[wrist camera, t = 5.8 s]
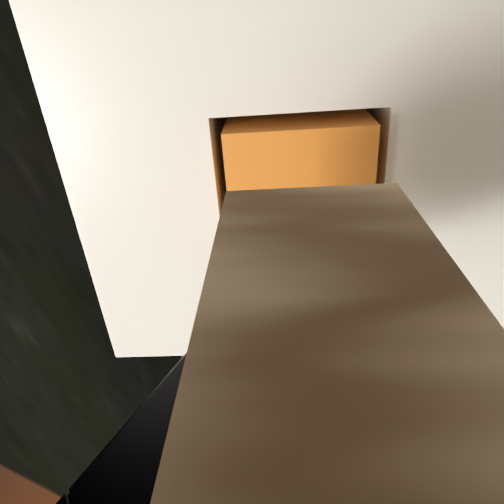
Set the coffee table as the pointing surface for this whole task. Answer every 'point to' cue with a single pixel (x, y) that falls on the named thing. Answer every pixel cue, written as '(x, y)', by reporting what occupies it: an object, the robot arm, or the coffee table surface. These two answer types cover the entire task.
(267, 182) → the button
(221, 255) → the wooden block
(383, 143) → the breaker housing
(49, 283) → the coffee table surface
